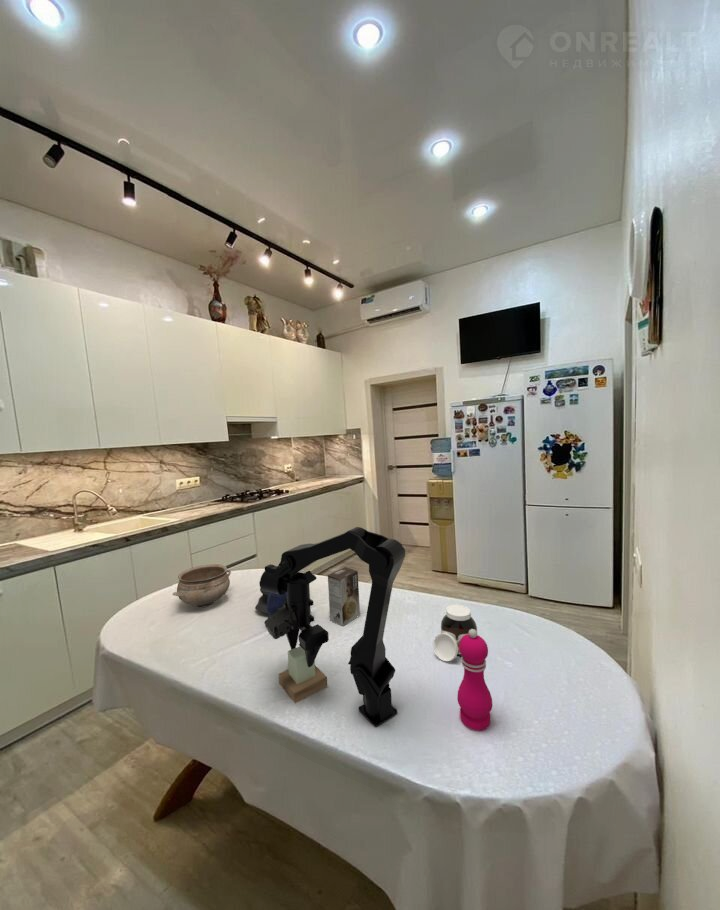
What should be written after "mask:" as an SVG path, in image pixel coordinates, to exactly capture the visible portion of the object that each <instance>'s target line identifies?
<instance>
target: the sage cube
mask: <svg viewBox="0 0 720 910" xmlns="http://www.w3.org/2000/svg"><path fill="white" fill-rule="evenodd" d="M287 659H288V660H287V661H288V662H287V663H288V669H289V675H290V676H291V677H292V678H293V680H294V681H295V682H296V684H299V683H301V682H304V681H306V680H308V679H310V678H312V677H315V666H316V662H315V661H316V660H315V661H314V663H313V665H312V666H311V667H308V665H307V661H306V655H305V650H304V649H303V648H302V647H301V646H298V647H297V646H296V648H294V649H292V650H291V649H290V650H287Z"/></svg>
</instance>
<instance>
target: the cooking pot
mask: <svg viewBox="0 0 720 910" xmlns="http://www.w3.org/2000/svg"><path fill="white" fill-rule="evenodd" d="M231 574H232V571H231V570H229V569H228V568H227V566H226V565H223V564H216V563H215V564H213V563H212V564H204V565H198V566H194V567H191V568H189V569H186V570H184V571H182V572H181V573H179V574H178V577H177V579H178V583H177V587H176V588H177V589H176V591H174V592H172V596H175V597H178V599H179V600H180V601H181V602H182V603H184V604H185V605H189V606H194V607H198V608H204V607H207V606H210V605H213V604H214V603H216V602H217V601H219V599H222V597H224V595H226V593H227V592H228V590H229V588H230V584H231V580H230V575H231Z"/></svg>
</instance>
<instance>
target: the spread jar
mask: <svg viewBox="0 0 720 910" xmlns="http://www.w3.org/2000/svg"><path fill="white" fill-rule="evenodd" d="M445 612H446V613H445V615H444V616H443V618H442V619H441V624H440V633H439V634H437V635H436V636H435V637H434V639H433V643H432V644H433V645H432V646H433V651H434V653H435V655H436V657H437V658H438V659H439V660H441V661H443V662H451V661H453V660H455V659H456V658H457V657H459V658H462V655H461V654H460V651H459V642H460V640H461V638H462V637H463V636H465V635H467V634H469V630H470V629H474V630H476V632H477V633H478V626H477V623H476V621H475V620H474V618H473V617H472V611H471V609H470V608H469V607H467V606H465V605H461V604H451V605H449V606H447V607H446V609H445Z"/></svg>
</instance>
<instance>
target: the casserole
mask: <svg viewBox="0 0 720 910" xmlns="http://www.w3.org/2000/svg"><path fill="white" fill-rule="evenodd" d="M259 592H260V593H261V594H262V595H260V597H259V598H258V601H257V604H256V606H255V607H254V608H255V610H256V611H257V612H260V613H265V614H269V613H268V610H267V600H268V595H269V593H270V592H266V591H263V590H262V589H261V588H260V587H259Z"/></svg>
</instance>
